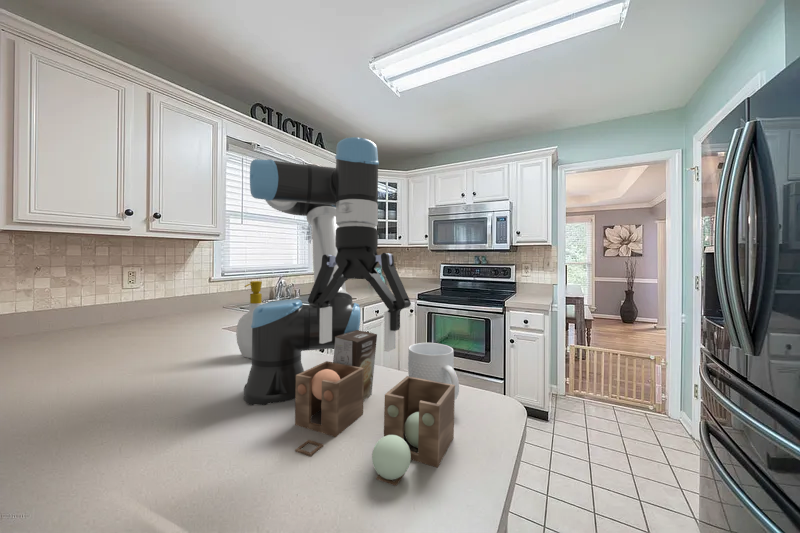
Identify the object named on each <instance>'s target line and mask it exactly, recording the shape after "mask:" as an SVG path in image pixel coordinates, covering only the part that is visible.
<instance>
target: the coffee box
mask: <svg viewBox="0 0 800 533" xmlns="http://www.w3.org/2000/svg"><path fill="white" fill-rule="evenodd" d="M377 340H378V334H377V333H374V332H369V331H363V330H360V329H359V330H355V331H352V332H348V333H345V334H342V335H338V336H335V346H334V348H333V359H332V360H333V361H332V362H334V363H339V364H344V365H350V366H355V367H361V368H364V394H363V401H365V400H366V399H368V398H369V397H371V396H372V394H373V386H374V385H373V383H374V373H375V372H374V371H375V362H376V361H375V360H376V351H377V350H376V349H377Z"/></svg>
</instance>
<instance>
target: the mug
mask: <svg viewBox="0 0 800 533" xmlns="http://www.w3.org/2000/svg"><path fill="white" fill-rule="evenodd" d="M454 354H455V353H454V348H453V347H451V346H449V345H447V344H443V343H437V342H419V343H414V344H410V345H409V347H408V357H407V358H408V362H407V366H408V367H407V370H408V376H409V377H415V378H420V379H425V380H431V381H436V382H442V383H447V384H453V385H455V400H457V398H458V396H459V393H460V381H459V378H458V375H457V372H456V370H455V369H454V366H455V365H454V363H455V361H454V360H455V359H454Z"/></svg>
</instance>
